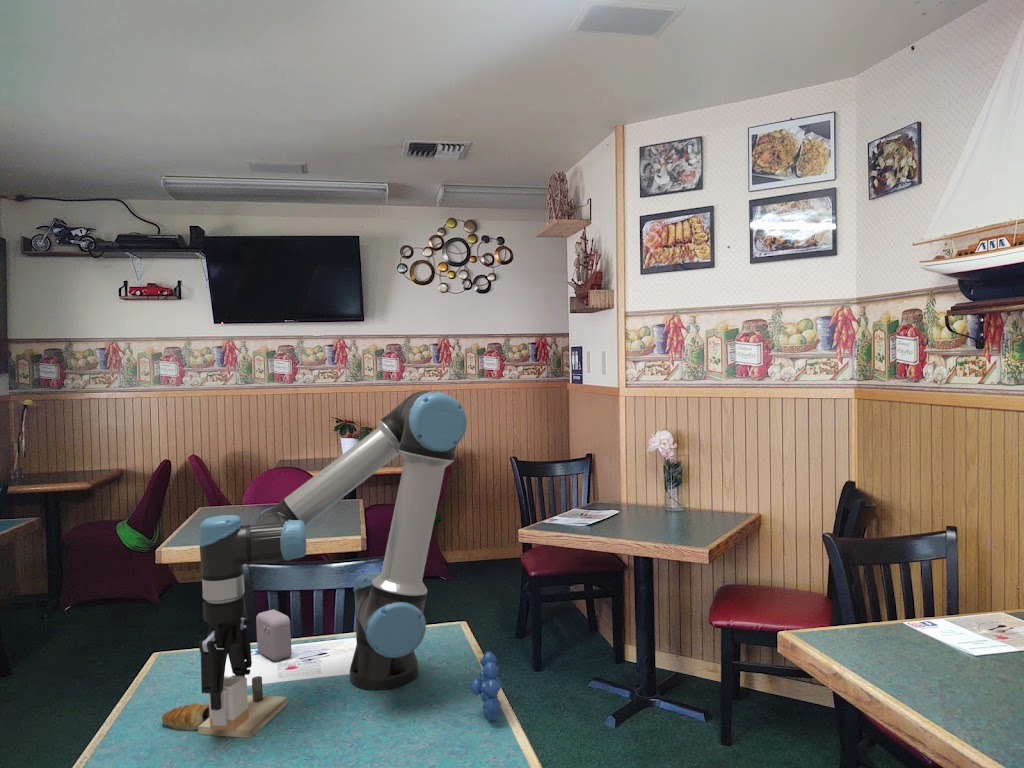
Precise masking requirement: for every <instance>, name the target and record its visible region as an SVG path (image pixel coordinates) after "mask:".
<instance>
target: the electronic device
mask: <svg viewBox="0 0 1024 768" xmlns="http://www.w3.org/2000/svg"><path fill="white" fill-rule="evenodd" d="M255 622H256V623H255V624H256V625H255V626H256V641H257V643H256V644H257V651H258V653H260V654H261V655H263V656H265V657H266V658H268V659H270V660H271V661H274V662H278V661H281V660H285V659H287V658H290V657H291V656H292V634H291V632H292V631H291V620H290V618H289V616H288V615H286V614H284V613H283V612H280V611H278V610H276V609H275V608H273V609H270V610H266V611H262V612H259V613H258V614H257V615H256V617H255Z"/></svg>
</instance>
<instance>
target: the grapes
mask: <svg viewBox="0 0 1024 768" xmlns="http://www.w3.org/2000/svg"><path fill="white" fill-rule="evenodd" d="M497 661H498V658H497V657H496V655H495V654H494V653H493V652H491V651H489V650H487V651H486V652H485V653H484V654H483V655H482V657H481V659H480V661H479V663H480V664H481V666H482V669H481V671H479V674H478V676H479V677H476V676H475V677H474V678H473V679H472V680H471V682H470V684H469V685H468V689H469V690H470V691H471V693H472V694H473V695H475V696H479V697H480V700H482V702H483V703H484V704H483V705H482V709H483V710H484V711H483V713H484V715H485V716H486V718H487V719H488V720H489V721H492V722H494V721H496V720H497V718H498V717H499V716H500V714H501V711H502V710H501V709H500V707H501V705H502V702H501V701H500V700H499V698H498V695H499V691H500V690H501V688H502V687H503V683H502V680H500V678H498V677H497V674H498V673H499V671H500V669H499V667H498V666H497V665H496V664H497Z"/></svg>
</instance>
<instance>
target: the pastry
mask: <svg viewBox="0 0 1024 768" xmlns="http://www.w3.org/2000/svg"><path fill="white" fill-rule="evenodd" d="M208 718H210V712H209V702H207V703H206V704H205V703H196V702H194V703H190V704H185V705H183V706H179V707H178V708H177V707H175V708H173V709H171V710H169V711H167V712H165V713H164V714H162V716H161V720H162V723H163V724H164V726H165V727H168V728H171V729H174V730H175V731H176V730H180V731H198V726H199V725H201V724H202V723H203V722H204V721H206V720H207V719H208Z"/></svg>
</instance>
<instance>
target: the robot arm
mask: <svg viewBox="0 0 1024 768" xmlns="http://www.w3.org/2000/svg"><path fill="white" fill-rule="evenodd" d="M467 422H468V420H467V415H466V412H465V409H464V408H463V406H462V404H461V403H460V402H459V401H458V400H457V399H456V398H454V397H453V396H451V395H449V394H447V393H444V392H441V391H431V390H430V391H429V390H424V391H422V390H421V391H418V392H414V393H413V394H410V395H409V396H407V397H406V398H405V399H404V400H402V401H401V402H400V403H399V404H398V405H397V406H396V407H394V408H393V409H392V410H391V411H390V412H389V413H388V414H386V415H385V416H384V417H382V418H381V419H380V420H379V421H378V423H377V424H378V425H377V428H376V429H374V430H373V431H371V432H370V433H369V434H368V435H366V436H365V437H363V438H362V439H361V440H359V442H357V443H356V444H354V445H353V446H352V447H350V448H349V449H348V450H346V451H345V452H344V453H343V454H341V455H340V456H339V457H337V458H336V459H335V460H333V461H332V462H330V463H329V464H328V465H326V467H324V468H323V469H321V470H320V471H319V472H318V473H316V474H315V475H313V476H312V477H311V478H310V479H308V480H307V481H306V482H305V483H303V484H302V485H300V486H299V487H298V488H296V489H295V490H293V491H292V492H291V493H289V494H288V495H287V496H286V497H285V498H283V499H282V500H281V501H280V502H278V503H277V504H275V505H274V506H273V507H269V508H267V509H264V510H263V511H262V512H261V513H260V514H259V515H258V517H257V519H256V521H255V524H254V523H253V524H243V522H242V520H241V517H240V516H239V515H235V514H230V515H227V514H225V515H224V514H223V515H216V516H211V517H208V518H205V519H203V520H202V521H201V523H200V524H199V555H200V556H199V557H200V572H201V582H202V586H201V587H202V598H203V602H202V612H203V613H202V615H203V620H204V622H206V623H207V624H208V626H209V627H208V633H207V638H205V639H204V640H201V639H200V640H199V641H198V648H199V653H200V673H201V676H200V677H201V678H200V681H201V683H200V684H201V686H200V687H201V688H200V689H201V693H202V694H208V695H209V694H210V700H211V710H212V725H218V726H226V725H227V724H228V723H227V702H226V690H223V683H224V676H225V673H226V672H225V671H226V662H227V656H228V659H229V662H230V663H229V664H230V668H231V672H232V675H231V676H230V677H246V675H247V676H249V675H250V674H251V669H250V668H251V667H252V664H253V663H252V649H251V648H252V647H251V636H250V628H251V627H250V626H251V618H250V617H249V618H248V617H244V616H245V614H246V599H245V598H246V597H245V596H244V593H245V576H244V566H245V565H253V564H260V563H270V562H271V563H273V562H282V561H291V560H295V559H301V558H304V557H305V556H306V554H307V533H306V526H308V525H309V524H310V523H312V522H313V521H314V520H316V519H317V518H318V517H319V516H321V515H322V514H324V512H326V511H327V510H329V509H330V508H331V507H332V506H334V505H335V504H337V503H338V502H339V501H340V500H342V499H343V498H344V497H345V496H346V495H348V494H349V493H351V492H352V491H353V490H354V489H356V488H357V487H358V486H360V485H361V484H363V483H364V482H366V480H368V479H369V478H371V477H372V476H373V475H374V474H375V473H376V472H378V471H379V470H381V469H382V468H384V466H385V465H387V464H388V463H389V462H391V461H392V460H394V459H395V458H396V457H397V456H399V455H400V456H401V457H402V458H403V466H402V471H401V475H400V480H399V481H400V482H399V486H398V490H397V495H396V499H395V505H394V509H393V515H392V518H391V519H392V520H391V523H390V528H389V529H390V530H389V533H388V538H387V542H386V543H387V544H386V549H385V554H384V558H383V562H382V563H383V564H382V568H381V571H375V572H369V573H365V574H361V575H358V576H357V577H356V578H355V580H354V583H353V584H354V587H353V590H352V591H353V593H354V610H355V611H354V612H355V614H354V615H355V635H356V636H355V637H356V644H355V649H354V653H353V656H352V661H351V664H350V667H349V680H350V683H351V684H352V685H354V686H355V687H357V688H360V689H365V690H387V689H392V688H397V687H401V686H403V685H405V684H408V683H411V681H413V680H415V679H416V678H417V676H418V675H419V661H418V658H417V655H416V652H415V650H416V649H417V648H418V647H419V646H420V645H421V644H422V642H423V640H424V638H425V635H426V629H427V622H426V618H425V615H424V610H425V606H426V605H425V604H426V601H427V595H428V589H427V587H426V585H425V584H424V582H423V578H424V573H425V568H426V563H427V557H428V553H429V548H430V542H431V539H432V533H433V528H434V524H435V523H434V522H435V519H436V513H437V509H438V503H439V499H440V496H441V495H440V494H441V488H442V483H443V479H444V474H445V469H446V467H448V466H450V465H451V464H452V463H454V461H455V455H456V451H457V447H458V444H459V443H461V441H462V440H463V438H464V437H465V435H466V433H467V432H466V431H467V425H468V424H467Z"/></svg>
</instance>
